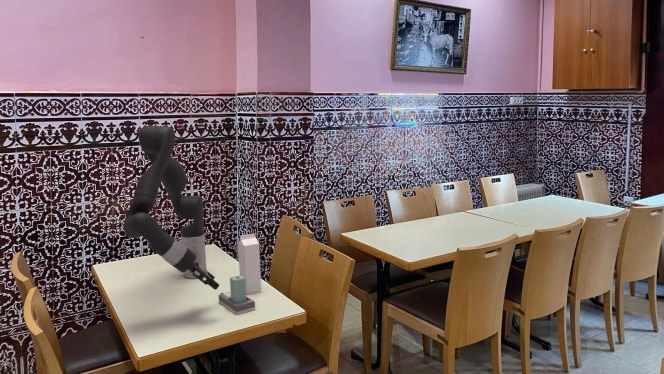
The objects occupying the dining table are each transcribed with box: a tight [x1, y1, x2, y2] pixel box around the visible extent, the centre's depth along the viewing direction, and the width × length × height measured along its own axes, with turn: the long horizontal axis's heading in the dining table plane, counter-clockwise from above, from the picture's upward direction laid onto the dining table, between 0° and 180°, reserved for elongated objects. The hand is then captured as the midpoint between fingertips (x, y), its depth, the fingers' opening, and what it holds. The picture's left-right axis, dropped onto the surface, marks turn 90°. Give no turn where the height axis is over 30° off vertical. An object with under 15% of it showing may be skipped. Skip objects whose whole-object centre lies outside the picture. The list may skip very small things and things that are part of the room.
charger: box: [229, 274, 247, 304], centre depth 193 cm, size 4×4×10 cm
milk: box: [237, 232, 262, 296], centre depth 208 cm, size 6×6×22 cm
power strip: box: [218, 291, 256, 315], centre depth 197 cm, size 19×7×3 cm, turn 37°
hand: (215, 283), depth 189 cm, fingers open, 8 cm apart
